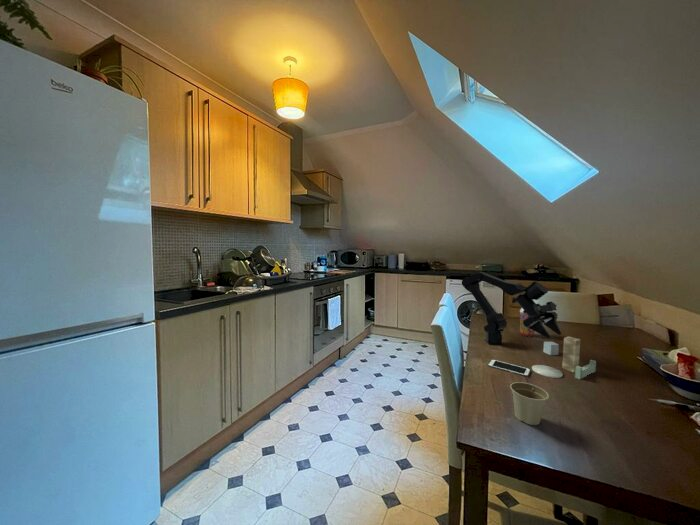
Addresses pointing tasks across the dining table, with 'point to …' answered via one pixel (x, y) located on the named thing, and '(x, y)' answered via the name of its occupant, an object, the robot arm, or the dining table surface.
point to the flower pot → (528, 402)
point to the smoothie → (523, 329)
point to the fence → (585, 370)
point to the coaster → (547, 371)
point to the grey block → (551, 348)
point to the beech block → (571, 353)
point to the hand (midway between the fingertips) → (555, 336)
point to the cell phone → (509, 367)
